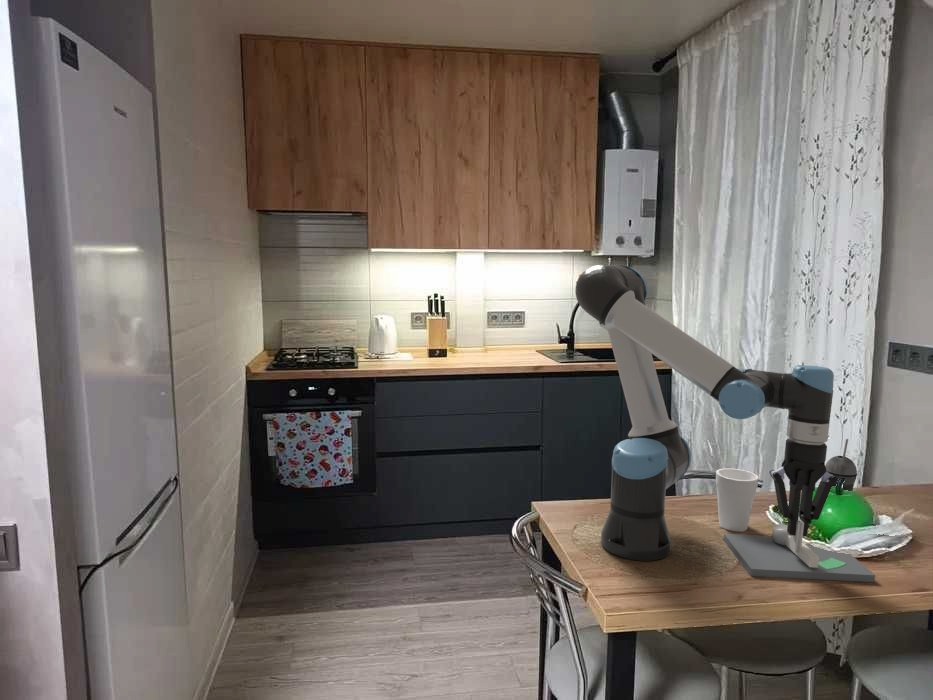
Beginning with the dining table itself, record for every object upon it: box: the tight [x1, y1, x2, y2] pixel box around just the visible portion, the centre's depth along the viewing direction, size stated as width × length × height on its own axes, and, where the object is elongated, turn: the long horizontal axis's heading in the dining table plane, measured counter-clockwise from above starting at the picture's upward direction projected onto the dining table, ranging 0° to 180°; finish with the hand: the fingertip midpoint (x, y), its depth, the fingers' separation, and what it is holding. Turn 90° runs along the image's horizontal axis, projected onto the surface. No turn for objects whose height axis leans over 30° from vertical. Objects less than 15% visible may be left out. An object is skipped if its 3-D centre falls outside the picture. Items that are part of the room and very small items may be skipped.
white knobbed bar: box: [771, 523, 819, 568], centre depth 133 cm, size 15×5×3 cm, turn 178°
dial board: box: [722, 533, 876, 583], centre depth 133 cm, size 24×17×2 cm
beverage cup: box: [825, 438, 858, 492], centre depth 157 cm, size 7×7×20 cm
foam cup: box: [715, 467, 759, 532], centre depth 150 cm, size 10×9×13 cm
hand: (795, 549), depth 130 cm, fingers closed
